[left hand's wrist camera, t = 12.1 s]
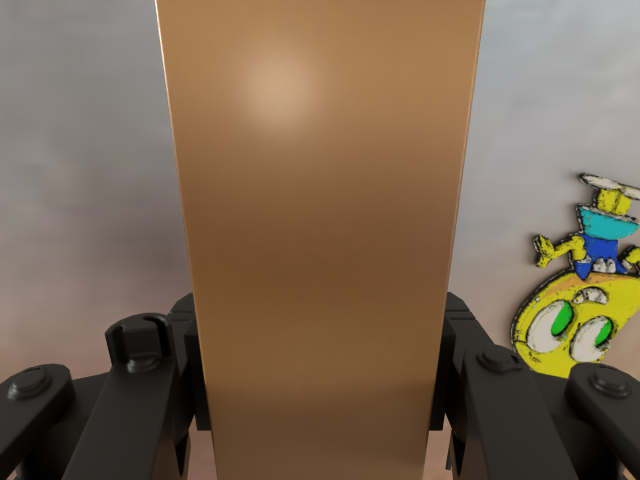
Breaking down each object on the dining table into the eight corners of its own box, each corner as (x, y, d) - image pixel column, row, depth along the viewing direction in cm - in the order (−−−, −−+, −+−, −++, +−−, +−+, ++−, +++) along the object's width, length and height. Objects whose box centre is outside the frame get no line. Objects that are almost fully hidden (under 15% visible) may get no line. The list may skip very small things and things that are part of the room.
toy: (729, 214, 23) (602, 402, 28) (714, 210, 23) (593, 394, 28) (578, 170, 22) (475, 374, 27) (568, 167, 22) (470, 366, 27)
